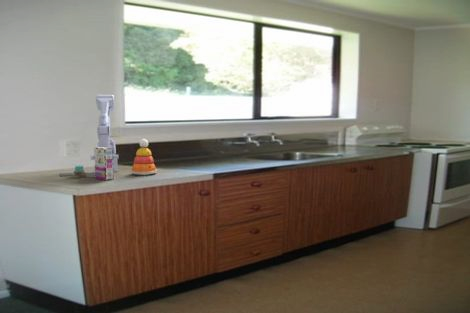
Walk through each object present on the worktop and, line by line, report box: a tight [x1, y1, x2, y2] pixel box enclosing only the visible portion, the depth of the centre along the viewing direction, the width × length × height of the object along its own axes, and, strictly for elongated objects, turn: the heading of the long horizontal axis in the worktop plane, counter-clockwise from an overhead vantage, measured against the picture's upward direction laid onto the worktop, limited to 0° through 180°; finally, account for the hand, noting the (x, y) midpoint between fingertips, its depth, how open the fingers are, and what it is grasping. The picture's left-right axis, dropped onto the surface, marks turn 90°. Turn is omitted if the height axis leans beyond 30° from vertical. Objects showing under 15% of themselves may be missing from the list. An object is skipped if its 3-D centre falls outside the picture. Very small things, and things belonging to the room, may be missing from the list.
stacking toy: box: [130, 138, 158, 176], centre depth 268 cm, size 14×14×20 cm
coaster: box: [60, 172, 74, 177], centre depth 268 cm, size 9×9×1 cm
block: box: [74, 164, 84, 172], centre depth 260 cm, size 4×4×6 cm
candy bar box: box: [93, 146, 115, 181], centre depth 252 cm, size 11×5×16 cm, turn 45°
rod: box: [84, 171, 95, 178], centre depth 262 cm, size 6×2×2 cm, turn 100°
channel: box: [73, 169, 86, 179], centre depth 260 cm, size 5×7×3 cm
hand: (105, 172), depth 265 cm, fingers closed
